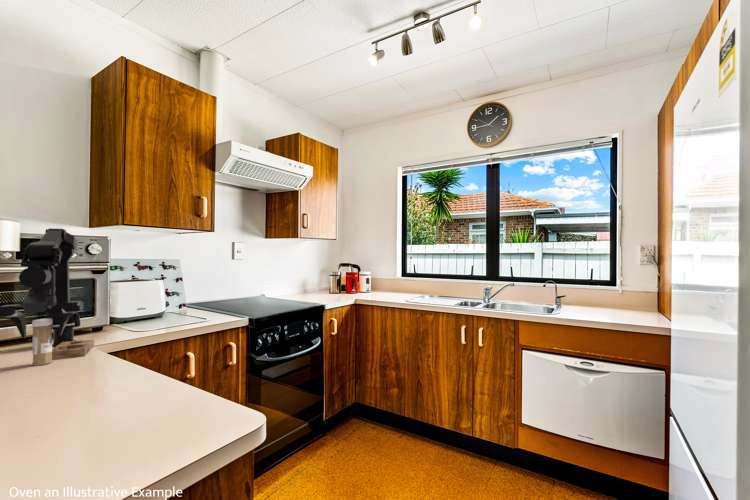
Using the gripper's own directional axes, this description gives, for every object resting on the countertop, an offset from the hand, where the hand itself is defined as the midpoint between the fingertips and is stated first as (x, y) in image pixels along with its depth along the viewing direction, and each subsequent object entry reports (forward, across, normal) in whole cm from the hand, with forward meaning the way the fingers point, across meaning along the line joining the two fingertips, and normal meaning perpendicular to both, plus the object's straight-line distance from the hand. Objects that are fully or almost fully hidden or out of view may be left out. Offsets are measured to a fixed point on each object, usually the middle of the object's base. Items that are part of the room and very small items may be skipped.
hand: (42, 336), depth 109 cm
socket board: (+8, +5, +12) cm, 15 cm away
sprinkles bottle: (+8, 0, 0) cm, 8 cm away
